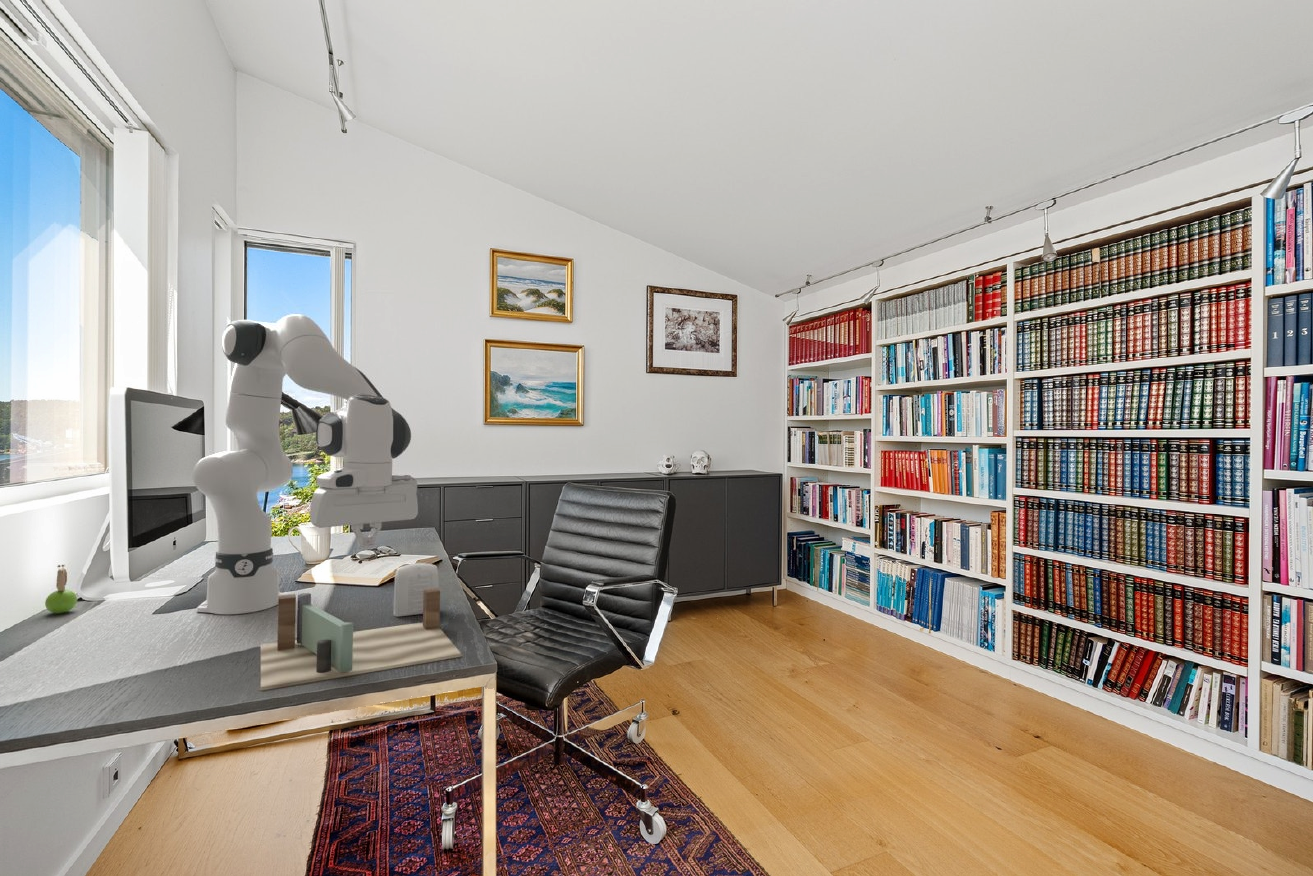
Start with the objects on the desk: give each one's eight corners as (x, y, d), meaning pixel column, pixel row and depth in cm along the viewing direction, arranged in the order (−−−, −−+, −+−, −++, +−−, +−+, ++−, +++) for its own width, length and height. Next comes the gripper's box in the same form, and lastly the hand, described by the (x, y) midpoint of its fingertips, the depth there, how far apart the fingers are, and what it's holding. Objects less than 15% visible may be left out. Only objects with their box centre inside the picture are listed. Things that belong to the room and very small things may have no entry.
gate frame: (260, 647, 129) (261, 594, 129) (433, 623, 147) (434, 577, 147) (260, 690, 109) (261, 627, 108) (461, 656, 127) (462, 602, 127)
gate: (295, 641, 129) (295, 594, 129) (307, 639, 131) (308, 592, 131) (341, 673, 114) (343, 620, 114) (355, 669, 116) (356, 617, 116)
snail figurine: (43, 618, 142) (44, 566, 142) (45, 612, 147) (46, 561, 147) (76, 614, 146) (77, 563, 146) (77, 608, 151) (78, 558, 150)
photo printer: (434, 608, 159) (436, 560, 159) (439, 612, 156) (440, 563, 156) (391, 614, 154) (393, 564, 153) (395, 618, 150) (396, 567, 150)
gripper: (409, 473, 134) (407, 537, 135) (307, 477, 119) (305, 549, 119) (424, 475, 130) (422, 541, 130) (320, 479, 115) (318, 554, 115)
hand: (366, 545), depth 125 cm, fingers closed
